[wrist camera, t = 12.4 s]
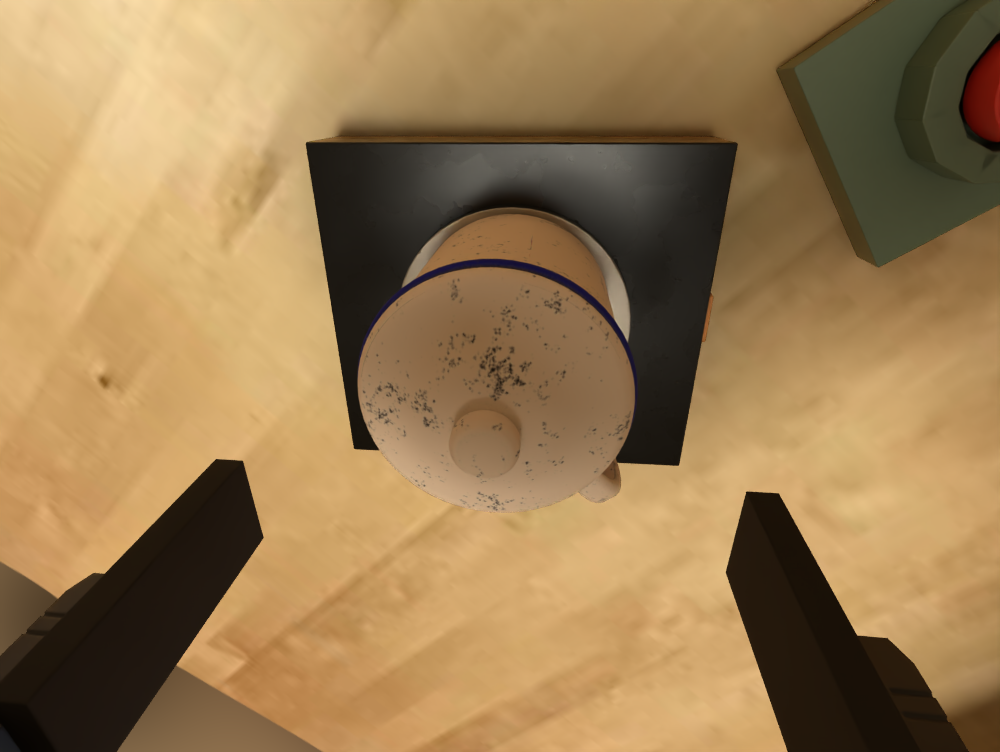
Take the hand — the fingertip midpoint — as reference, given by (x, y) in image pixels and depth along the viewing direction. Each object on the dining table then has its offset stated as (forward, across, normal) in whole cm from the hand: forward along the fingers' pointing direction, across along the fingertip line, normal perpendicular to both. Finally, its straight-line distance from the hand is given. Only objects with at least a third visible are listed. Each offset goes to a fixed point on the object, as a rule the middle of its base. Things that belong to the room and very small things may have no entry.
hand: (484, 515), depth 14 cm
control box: (+17, -19, -10) cm, 27 cm away
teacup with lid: (+13, -1, 0) cm, 13 cm away
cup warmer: (+17, 0, 0) cm, 17 cm away
